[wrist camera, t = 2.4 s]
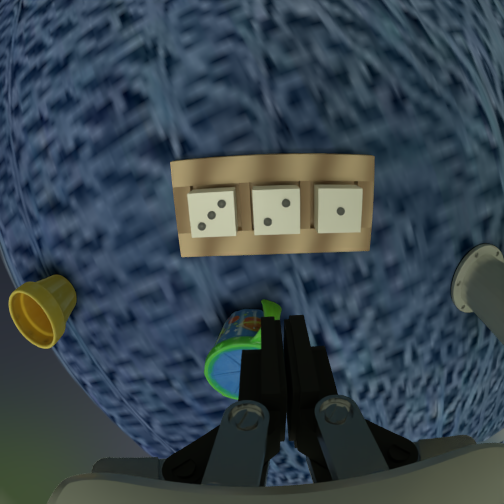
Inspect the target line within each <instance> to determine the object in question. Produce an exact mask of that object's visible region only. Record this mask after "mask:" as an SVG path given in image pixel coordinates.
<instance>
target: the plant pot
mask: <svg viewBox="0 0 504 504" xmlns="http://www.w3.org/2000/svg"><path fill="white" fill-rule="evenodd" d="M76 300H77V298H76V292H75V290H74V288H73V286H72V284H71V283H70V282H69V281H68V280H67V279H66V278H64V277H63V276H61V275H52V276H50V277H47V278H45V279H42V280H40V281H37V282H26V283H24V284H23V285H21V286H20V287H18V288H17V289H16V290H15V291H14V292H13V293H12V294H11V295H10V298H9V309H10V313H11V317H12V319H13V321H14V323H15V325H16V327H17V328H18V329H19V331H20V332H21V333H22V335H23V336H24V337H25V338H26V339H27V340H29V341H30V342H31V343H32V344H34V345H36V346H38V347H40V348H45V349H47V348H51V347H52V346H54V345H55V343H56V342H57V341H58V340H59V339H60V338H61V336H62V335H63V333H64V331H65V323H66V321H67V319H68V317H69V315H70V314H71V312H72V310H73V308H74V306H75V305H76Z"/></svg>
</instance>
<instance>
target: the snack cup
mask: <svg viewBox="0 0 504 504" xmlns="http://www.w3.org/2000/svg"><path fill="white" fill-rule="evenodd" d="M261 303H262V305H263V311H262V310H259V309H242V310H240V311H235V312H234V313H232V314H231V316H230V317H229V318H228V319H227V320H226V322H225V324H224V326H223V328H222V330H221V332H220V335H219V337H218V339H217V341H216V343H215V346H214V347H213V349H212V350H211V351H210V352H209V354H208V355H207V358H206V362H205V369H204V374H205V377H206V378H207V380H208V382H209V383H210V385H211V386H212V387H213V388H214V389H215V390H217V391H218V392H220V393H221V394H222V396H226V397H229V398H232V399H237V400H238V397H239V382H240V368H241V354H242V350H252V349H261V317H268V316H274V317H275V320H280V314H281V311H282V308H281V307H280V306H279V305H278V304H276V303H274V302H271V301H269V300H264V299H263V300H262V301H261ZM283 352H284V351H283Z"/></svg>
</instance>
